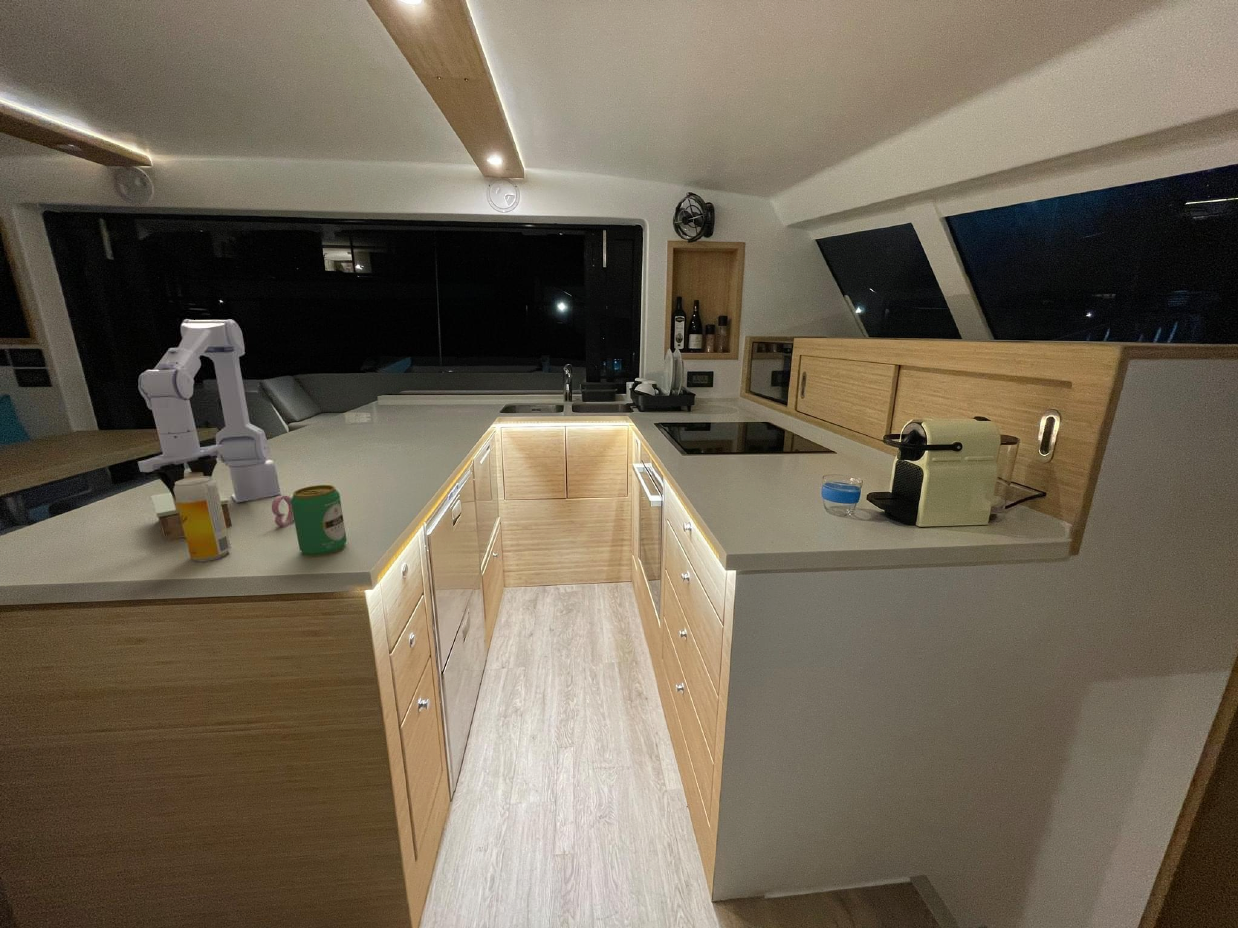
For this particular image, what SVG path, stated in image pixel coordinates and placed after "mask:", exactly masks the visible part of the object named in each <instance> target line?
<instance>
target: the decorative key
mask: <svg viewBox="0 0 1238 928" xmlns="http://www.w3.org/2000/svg"><path fill="white" fill-rule="evenodd" d="M291 499H292V497H291V496H288V495H276V497H275V498H273V501H272V502H271V511H272V513H273V515H274V516H275V518H274V522H275V524H276V525H277V526H278V527H286V526H288V525H290V524H291V523H293V522H294V516H293V511H292V505H291ZM282 500H283V501H285V502H286V503H287V506H288V513H287V516H286V519H285V520H284V521H283V518H284V516H285V515H286V513H281V512H280V507H279V506H280V503H281V501H282Z"/></svg>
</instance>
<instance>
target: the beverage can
mask: <svg viewBox="0 0 1238 928" xmlns="http://www.w3.org/2000/svg"><path fill="white" fill-rule="evenodd" d="M340 496H341V495H340V492H339V491H338V490H337V489H336V487H335V486H333V485H330V484H329V485H328V484H320V485H319V484H318V485H311V486H305V487H302V488H299V489H296V490H294V492H293V494H292V497H291V498H292V499H291V505H292V511H293V516H294V519H293V522H294V526H295V531H296V537H297V543H298V548H299V551H301V552H302V553H303V555H304V556H306V557H309V558H310V557H312V558H313V557H324V556H329V555H333V554H335V553H337V552H339V551H341V550H343V549H344V548H345V545H346V543H347V539H348V538H347V534H346V527H345V522H344V515H343V509H342V508H343V507H342V502H341V497H340Z"/></svg>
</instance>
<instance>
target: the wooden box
mask: <svg viewBox="0 0 1238 928" xmlns="http://www.w3.org/2000/svg"><path fill="white" fill-rule="evenodd" d="M221 506H222V510H223V515H224V519H225V524H226V528H228V527H232V526H233V523H232V519H231V514H230V510H229V506H228V504H223V505H221ZM157 518H158V521H159V524H160V527H161V530H162V533H163V536H164V540H165V541H169V540H174V539H178V538H183V537H185V534H184V530H183V526H182V522H181V518H180V514H179V513H177V514H172V515H167V516H162V517H157Z"/></svg>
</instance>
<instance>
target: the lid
mask: <svg viewBox="0 0 1238 928" xmlns="http://www.w3.org/2000/svg"><path fill="white" fill-rule="evenodd" d="M217 488H218V493H219V497H220V501H221V505H223V504H227V505H228V504H229V498H227V496H226V495H225V494H224V492H223V491H222V490H221V489H220V488H219V486H218V485H217ZM150 498H151V501H152V504H153V507H154V510H155V513H156V516H157V518H158V517H162V516H167V515H172V514H177V513H179V510H176V509H175V505H174V501H173V498H172V494H171V492H167V493H166V492H165V493H159V494H155V495H150Z"/></svg>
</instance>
